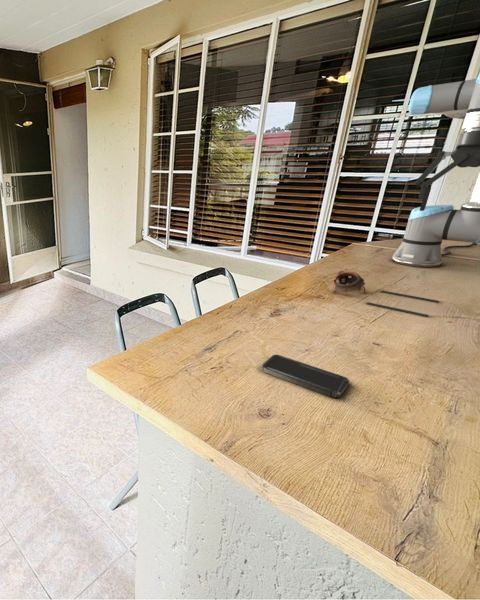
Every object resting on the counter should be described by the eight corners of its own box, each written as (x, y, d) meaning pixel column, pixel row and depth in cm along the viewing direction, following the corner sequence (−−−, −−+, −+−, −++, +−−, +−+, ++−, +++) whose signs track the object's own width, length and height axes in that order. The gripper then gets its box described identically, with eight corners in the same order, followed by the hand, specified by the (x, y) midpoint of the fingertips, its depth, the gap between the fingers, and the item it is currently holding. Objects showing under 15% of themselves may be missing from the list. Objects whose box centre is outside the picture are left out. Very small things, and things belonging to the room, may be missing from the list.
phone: (339, 395, 68) (260, 366, 79) (338, 400, 68) (259, 370, 79) (351, 378, 73) (275, 353, 83) (349, 383, 73) (274, 357, 84)
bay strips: (381, 291, 119) (382, 290, 119) (438, 301, 109) (438, 300, 108) (366, 304, 110) (366, 303, 110) (427, 317, 99) (427, 316, 99)
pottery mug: (373, 297, 115) (370, 279, 111) (341, 308, 118) (338, 291, 114) (352, 278, 125) (349, 260, 121) (323, 288, 128) (319, 272, 124)
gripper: (415, 134, 99) (394, 210, 107) (559, 123, 81) (521, 216, 88) (420, 134, 103) (400, 207, 111) (558, 124, 85) (522, 212, 93)
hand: (454, 211), depth 100 cm, fingers open, 13 cm apart
